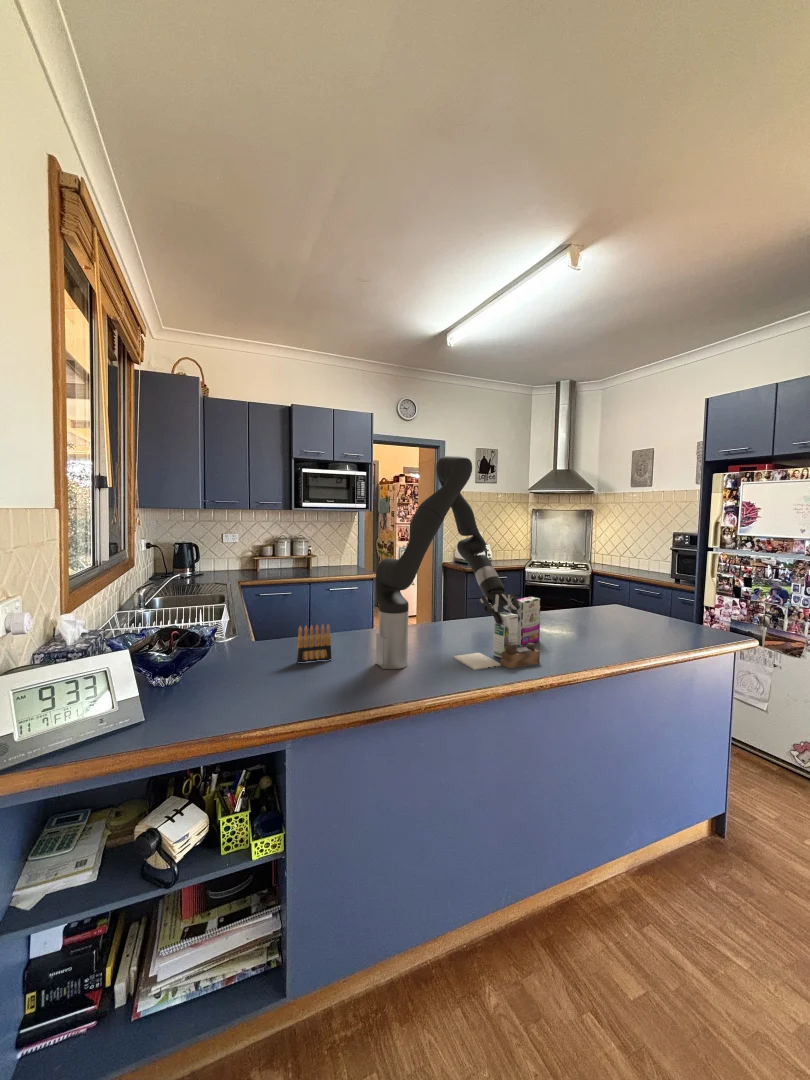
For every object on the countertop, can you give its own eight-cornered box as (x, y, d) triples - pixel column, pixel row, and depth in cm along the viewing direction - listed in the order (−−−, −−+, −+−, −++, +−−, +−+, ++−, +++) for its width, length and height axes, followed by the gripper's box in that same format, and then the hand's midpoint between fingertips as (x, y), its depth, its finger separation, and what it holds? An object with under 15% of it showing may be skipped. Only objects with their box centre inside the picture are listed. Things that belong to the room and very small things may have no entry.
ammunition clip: (297, 664, 139) (297, 626, 139) (296, 662, 141) (296, 625, 140) (331, 660, 143) (331, 624, 142) (330, 659, 145) (330, 622, 144)
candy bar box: (528, 638, 172) (530, 596, 171) (539, 641, 168) (541, 598, 167) (510, 643, 165) (511, 599, 164) (521, 646, 161) (523, 601, 160)
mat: (474, 670, 137) (474, 668, 137) (453, 658, 148) (453, 656, 148) (500, 665, 141) (500, 663, 141) (479, 654, 152) (479, 652, 152)
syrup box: (492, 655, 151) (493, 613, 150) (504, 652, 154) (505, 610, 153) (505, 660, 146) (507, 616, 145) (517, 656, 150) (518, 614, 149)
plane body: (509, 668, 139) (510, 646, 138) (501, 664, 142) (502, 642, 142) (539, 663, 144) (540, 641, 143) (531, 659, 148) (531, 638, 147)
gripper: (476, 576, 152) (496, 618, 142) (510, 574, 158) (532, 614, 149) (467, 589, 157) (486, 630, 148) (500, 586, 164) (521, 626, 154)
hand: (509, 622), depth 148 cm, fingers closed on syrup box, 6 cm apart
